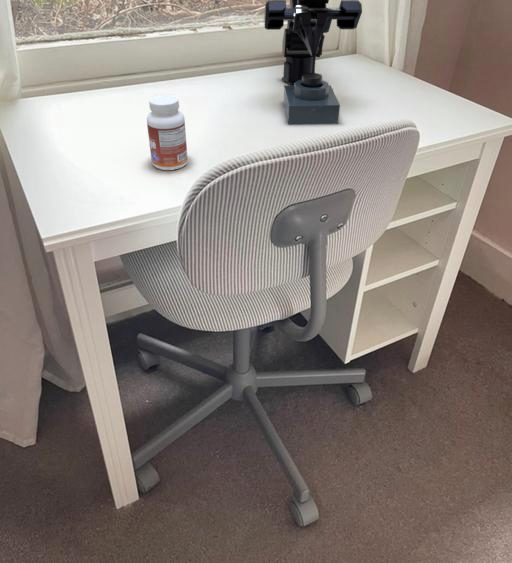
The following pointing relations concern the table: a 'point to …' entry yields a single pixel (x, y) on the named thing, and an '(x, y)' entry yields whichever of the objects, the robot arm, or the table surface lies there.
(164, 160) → the pill bottle
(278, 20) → the robot arm
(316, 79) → the black round button
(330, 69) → the table surface
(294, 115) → the push button box
